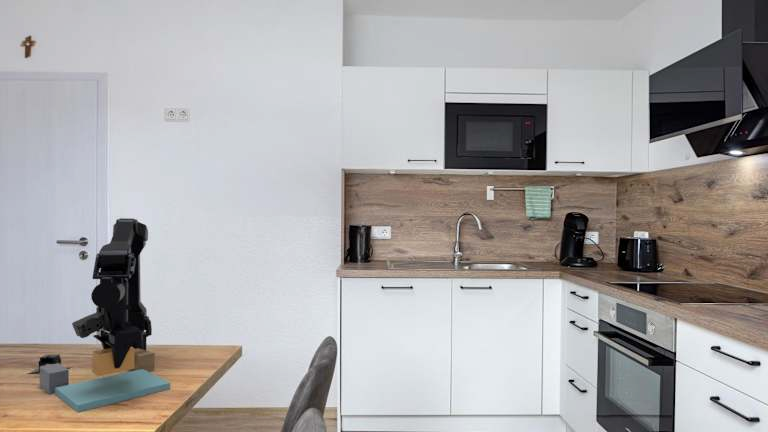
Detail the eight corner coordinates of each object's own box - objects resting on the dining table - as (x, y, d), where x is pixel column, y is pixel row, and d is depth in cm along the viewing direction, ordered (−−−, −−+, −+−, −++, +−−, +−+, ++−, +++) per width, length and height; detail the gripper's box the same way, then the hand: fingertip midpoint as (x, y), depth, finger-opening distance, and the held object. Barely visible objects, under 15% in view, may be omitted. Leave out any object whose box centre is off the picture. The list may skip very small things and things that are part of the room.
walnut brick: (123, 369, 136) (124, 351, 136) (137, 366, 139) (138, 348, 139) (140, 374, 131) (140, 356, 131) (154, 371, 135) (154, 352, 135)
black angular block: (17, 377, 130) (17, 360, 130) (34, 369, 137) (34, 352, 137) (66, 376, 131) (67, 359, 131) (81, 368, 138) (81, 351, 138)
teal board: (142, 374, 131) (142, 368, 131) (170, 388, 121) (170, 382, 121) (55, 394, 116) (55, 387, 116) (77, 412, 106) (77, 405, 106)
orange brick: (128, 365, 123) (128, 345, 123) (134, 368, 120) (134, 348, 120) (92, 372, 117) (92, 351, 117) (97, 376, 114) (98, 354, 114)
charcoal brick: (39, 387, 122) (39, 366, 122) (58, 383, 125) (58, 363, 125) (48, 394, 116) (49, 373, 116) (68, 390, 119) (68, 369, 119)
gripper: (63, 300, 119) (63, 365, 119) (90, 310, 106) (90, 383, 106) (113, 295, 127) (113, 356, 127) (144, 304, 115) (143, 371, 115)
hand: (113, 366), depth 119 cm, fingers closed on orange brick, 4 cm apart
